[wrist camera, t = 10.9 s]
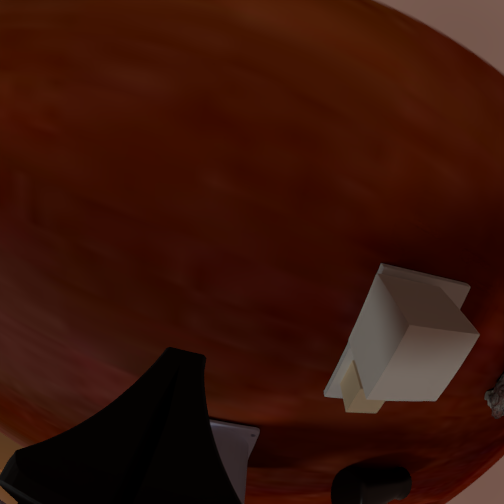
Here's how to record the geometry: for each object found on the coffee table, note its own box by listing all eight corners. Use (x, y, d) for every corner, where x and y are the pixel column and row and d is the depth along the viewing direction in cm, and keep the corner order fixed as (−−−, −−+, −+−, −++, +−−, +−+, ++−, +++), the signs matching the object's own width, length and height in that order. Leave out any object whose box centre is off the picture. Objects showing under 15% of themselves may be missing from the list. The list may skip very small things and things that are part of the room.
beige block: (409, 347, 20) (435, 400, 15) (348, 339, 20) (366, 399, 15) (440, 287, 18) (480, 334, 13) (376, 272, 18) (409, 325, 13)
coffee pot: (354, 457, 28) (409, 448, 29) (295, 496, 37) (342, 491, 38) (368, 514, 21) (424, 497, 23) (300, 536, 30) (349, 528, 32)
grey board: (402, 396, 24) (413, 425, 20) (323, 391, 24) (328, 424, 20) (467, 283, 19) (491, 307, 16) (380, 263, 19) (400, 289, 16)
